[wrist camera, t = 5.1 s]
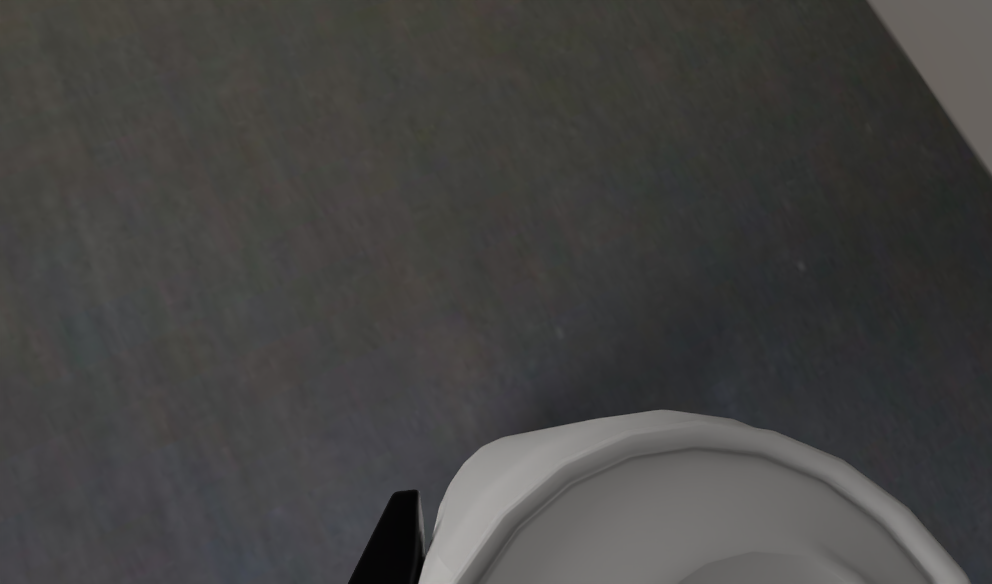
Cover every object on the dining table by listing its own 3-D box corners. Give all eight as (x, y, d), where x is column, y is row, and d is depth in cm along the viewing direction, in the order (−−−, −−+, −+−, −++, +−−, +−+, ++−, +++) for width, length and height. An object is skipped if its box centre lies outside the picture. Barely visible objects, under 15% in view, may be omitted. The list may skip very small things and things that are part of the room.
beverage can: (645, 558, 15) (1215, 890, 4) (492, 664, 14) (645, 1511, 3) (552, 402, 16) (791, 297, 5) (403, 492, 15) (257, 626, 4)
